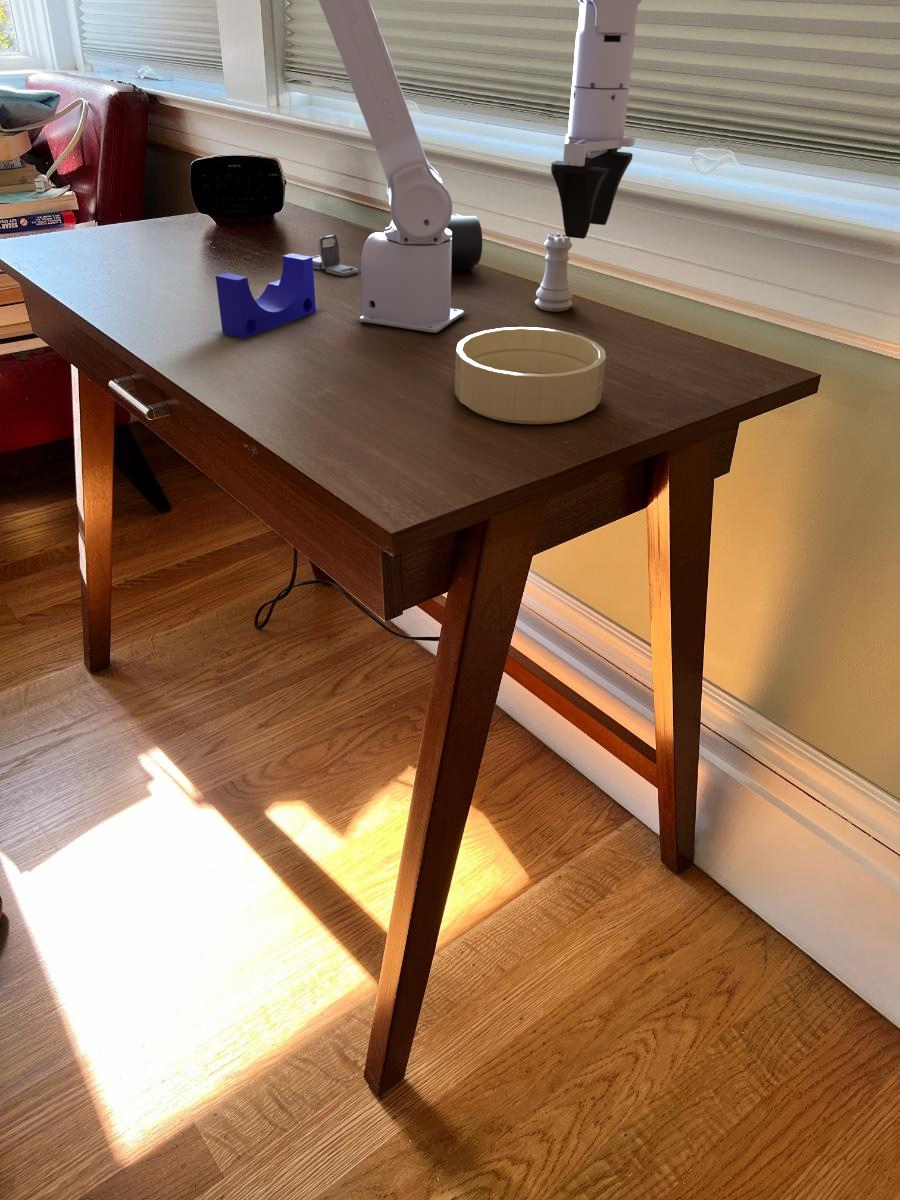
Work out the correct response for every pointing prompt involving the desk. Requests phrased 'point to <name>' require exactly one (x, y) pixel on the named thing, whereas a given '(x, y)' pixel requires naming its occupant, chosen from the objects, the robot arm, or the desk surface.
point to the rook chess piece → (555, 276)
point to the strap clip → (331, 259)
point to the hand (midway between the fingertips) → (586, 230)
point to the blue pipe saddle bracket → (267, 299)
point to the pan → (529, 374)
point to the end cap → (465, 241)
